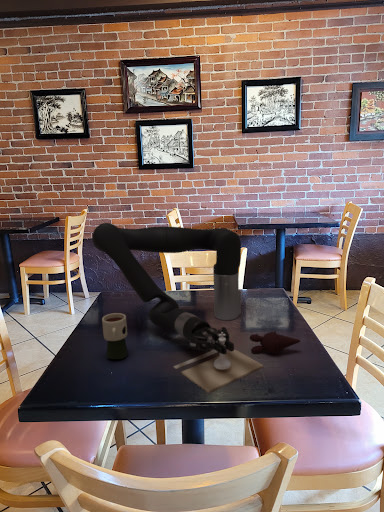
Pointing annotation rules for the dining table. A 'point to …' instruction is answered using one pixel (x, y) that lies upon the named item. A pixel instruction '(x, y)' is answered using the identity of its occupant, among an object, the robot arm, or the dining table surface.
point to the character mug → (115, 335)
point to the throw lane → (219, 370)
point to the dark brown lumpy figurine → (272, 342)
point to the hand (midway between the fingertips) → (229, 349)
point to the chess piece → (222, 356)
